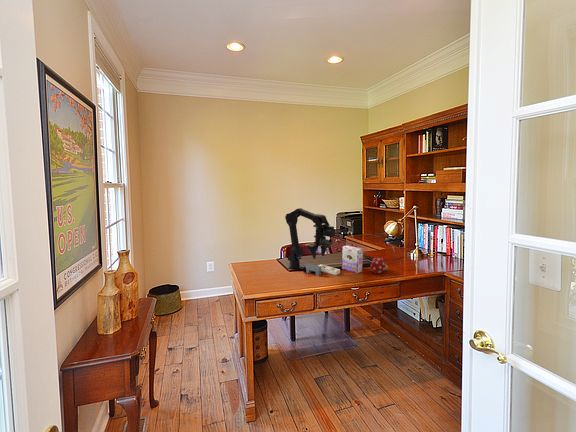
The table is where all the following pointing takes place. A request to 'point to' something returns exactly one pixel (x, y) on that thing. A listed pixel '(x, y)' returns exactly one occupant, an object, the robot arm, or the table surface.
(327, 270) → the rail
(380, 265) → the decorative mushroom
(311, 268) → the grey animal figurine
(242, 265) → the table surface
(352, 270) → the candy box
